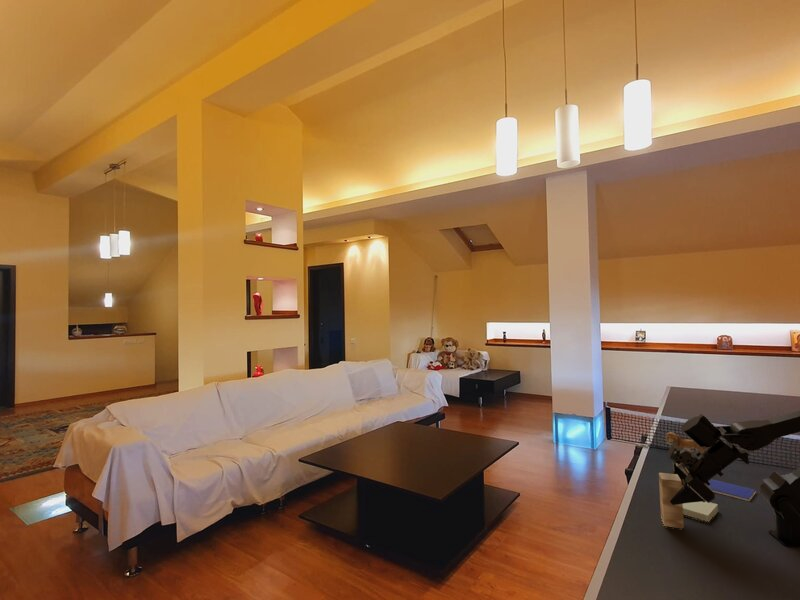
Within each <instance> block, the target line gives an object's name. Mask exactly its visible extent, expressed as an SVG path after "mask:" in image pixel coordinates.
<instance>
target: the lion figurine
mask: <svg viewBox="0 0 800 600" xmlns="http://www.w3.org/2000/svg"><path fill="white" fill-rule="evenodd" d="M665 442H666V444H667V445H670V446H671V445H672V444H675V445H678V446H680V447H682V448H688V449H690V450H692V449H694V448H695V452H697V451H700V452H701V453H702V452H703V451H705V450H706V449H707V448H706V447H705V446H704V447H700V446H699V445H697V444H696V443H695V442H694V441H693V440H692V439H686V438H684V437H683V436H682V435H679V434H677V433H675V432H673V431H668V432H667V433H665Z"/></svg>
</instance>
